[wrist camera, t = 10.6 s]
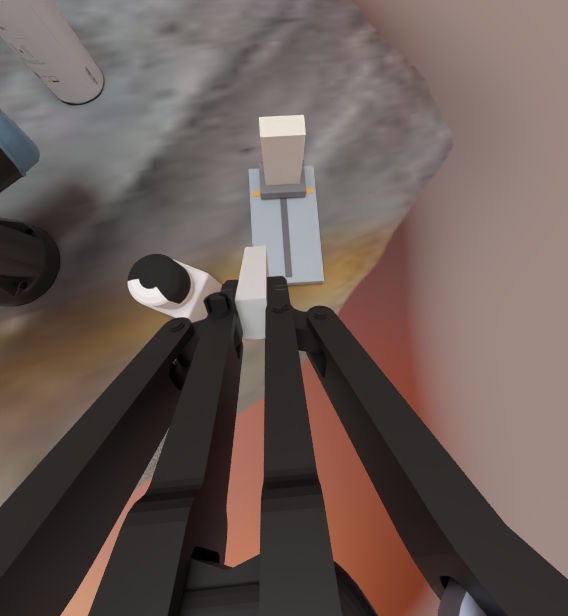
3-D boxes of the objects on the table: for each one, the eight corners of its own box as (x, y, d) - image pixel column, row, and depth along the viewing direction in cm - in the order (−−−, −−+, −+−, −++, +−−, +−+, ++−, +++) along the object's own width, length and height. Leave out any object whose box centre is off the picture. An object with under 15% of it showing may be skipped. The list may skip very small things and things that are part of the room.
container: (185, 270, 38) (136, 237, 26) (223, 285, 38) (193, 260, 25) (166, 308, 38) (105, 295, 25) (205, 325, 37) (165, 320, 24)
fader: (261, 199, 38) (253, 147, 27) (259, 169, 39) (250, 107, 28) (305, 196, 38) (314, 144, 28) (302, 166, 39) (310, 104, 28)
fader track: (256, 287, 38) (254, 285, 36) (250, 177, 41) (248, 168, 39) (321, 283, 38) (324, 280, 36) (311, 173, 41) (313, 165, 39)
